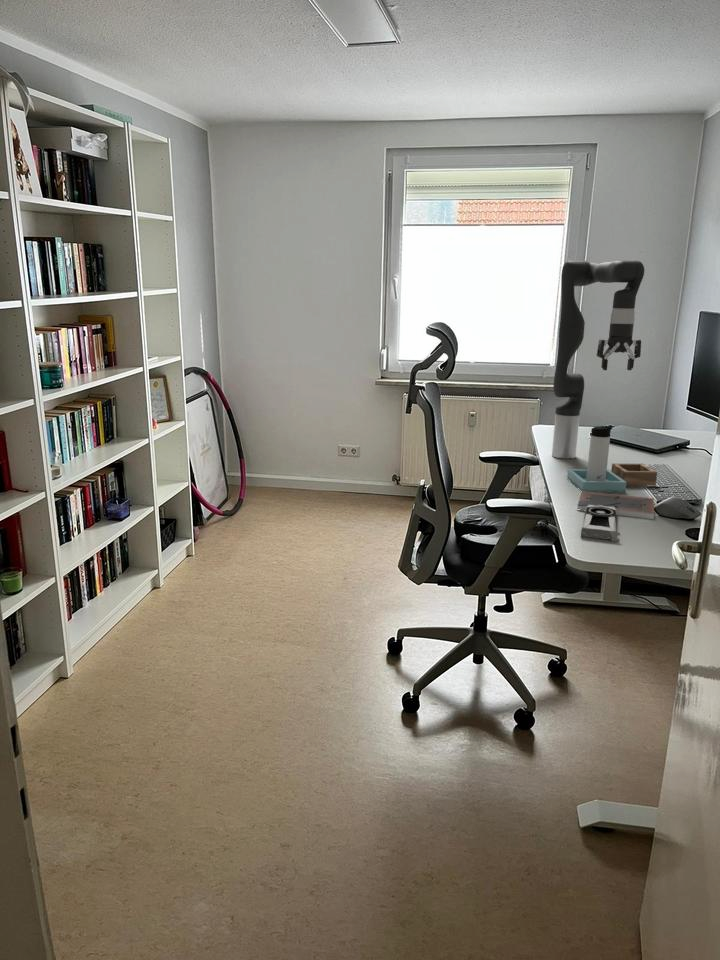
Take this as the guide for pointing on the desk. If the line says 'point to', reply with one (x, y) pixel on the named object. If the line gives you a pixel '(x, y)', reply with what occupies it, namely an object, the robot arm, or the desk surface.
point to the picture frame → (619, 504)
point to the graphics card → (603, 514)
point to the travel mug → (598, 453)
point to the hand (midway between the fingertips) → (616, 370)
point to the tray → (596, 482)
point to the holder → (635, 474)
